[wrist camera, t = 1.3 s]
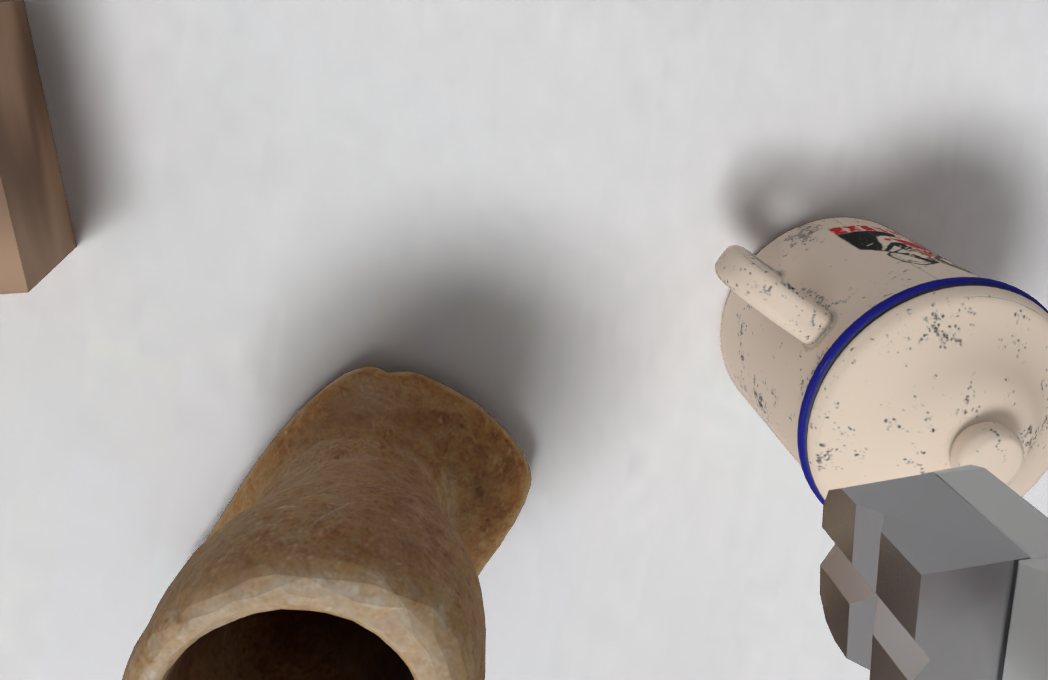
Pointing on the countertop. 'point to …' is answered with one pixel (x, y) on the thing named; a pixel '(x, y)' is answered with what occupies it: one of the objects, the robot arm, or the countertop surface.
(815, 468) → the teacup with lid
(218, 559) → the stone cup
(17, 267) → the block
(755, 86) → the countertop surface
